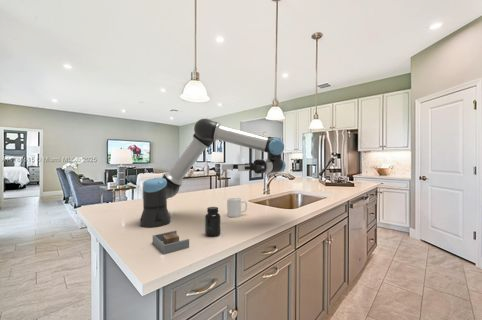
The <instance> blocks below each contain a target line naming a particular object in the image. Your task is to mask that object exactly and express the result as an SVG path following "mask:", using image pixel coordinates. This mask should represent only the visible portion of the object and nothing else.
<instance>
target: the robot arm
mask: <svg viewBox="0 0 482 320" xmlns="http://www.w3.org/2000/svg"><path fill="white" fill-rule="evenodd" d="M193 131H194V133H193V135H192V140H191V142H190V143H189V145H188V146H187V147H186V149H185V150H184V151H183V153H182V154H181V156H180V157H179V159H177V161H176V162H175V164H174V165H173V167H172V168H171V169H170V170H169V171H168V172H165V173H164V174H163V176H162V177H153V178H149V179H145V180H144V181H143V183H142V198H143V199H142V200H143V201H142V205H143V210H142V213H141V216H140V219H139V225H140V226H141V227H143V228H158V227H162V226H166V225H169V224H170V223H171V215H170V213H169V210H168V205H167V204H168V203H167V202H168V201H167V200H168V199H170V198H173V197H175V196H176V195H177V194H178V193H179V191H180V187H181V186H182V185H183V181H182V180H183V179H184V178H185V176H186V175H187V173H188V172H189V171H190V169H191V168H192V167H193V165H195V163H196V161H198V159H199V158H200V156H201V155H202V154H203V152H204V151H205V149H209V148H210V147H211V146H212V144H213V143H214V142H216V141H221V142H226V143H230V144H233V145H237V146H241V147H245V148H247V149H252V150H255V151H260V152H264V153H267V158H266V159H265V158H263V159H259V158H258V159H255V160H254V161H253V162H249V163H247V162H245V163H241V164H240V163H237V164H235V163H231V164H230V163H226V164H221V171H224V170H225V171H227V170H230V171H233V170H237V172H249V171H250V172H252V171H253V173H255V174H257V175H260V174H265V175H267V174H275V173H278V174H279V173H282V172H283V171H284V170H285V169H286V162H285V160H284V159H282V153H283V152H284V150H285V143H284V142H283V141H282V139H281V138H280V137H268V136H264V135H260V134H255V133H252V132H248V131H245V130H240V129H237V128H233V127H229V126H225V125H222V124H221V123H220V122H218V121H217V122H216V121H213V120H211V119H208V118H201V119H199V120H197V122H196V123H195V124H194V129H193Z"/></svg>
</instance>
